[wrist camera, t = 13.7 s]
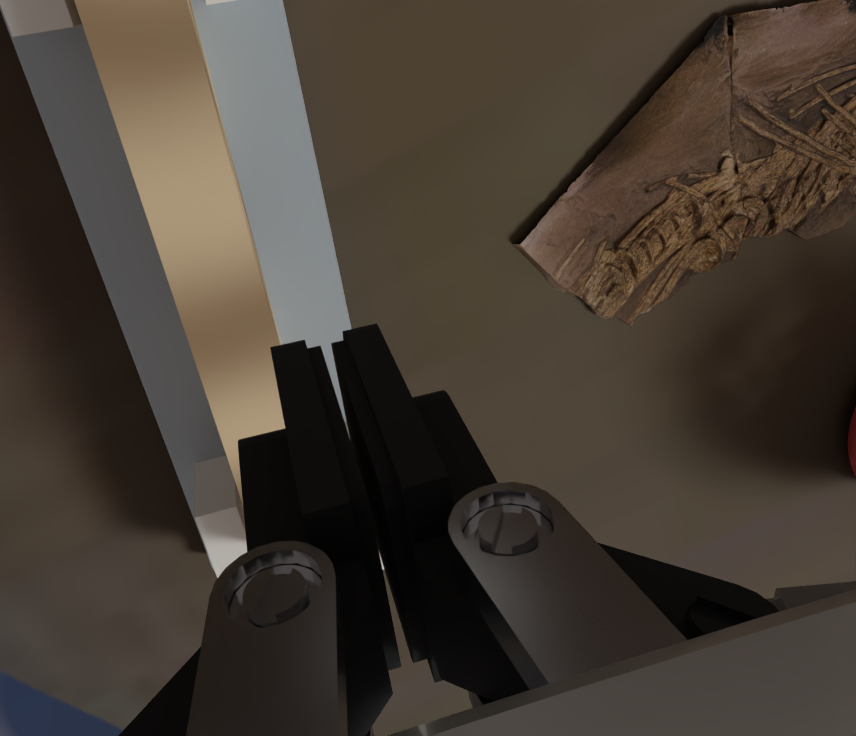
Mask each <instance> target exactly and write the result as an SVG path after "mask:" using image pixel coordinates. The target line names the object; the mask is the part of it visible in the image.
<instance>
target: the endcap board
mask: <svg viewBox="0 0 856 736" xmlns="http://www.w3.org/2000/svg"><path fill="white" fill-rule="evenodd" d="M190 1H191V5H192V8H193V12H194V16H195V20H196V23H197V27H198V31H199V35H200V38H201V42H202V46H203V50H204V54H205V57H206V61H207V65H208V69H209V72H210V76H211V80H212V84H213V87H214V91H215V95H216V99H217V103H218V106H219V110H220V114H221V118H222V121H223V125H224V129H225V133H226V137H227V140H228V144H229V148H230V152H231V155H232V159H233V163H234V167H235V170H236V174H237V178H238V182H239V186H240V189H241V193H242V197H243V201H244V204H245V208H246V212H247V216H248V219H249V223H250V227H251V231H252V235H253V238H254V242H255V246H256V250H257V253H258V257H259V261H260V265H261V268H262V272H263V276H264V280H265V284H266V287H267V291H268V295H269V299H270V302H271V306H272V310H273V314H274V318H275V321H276V325H277V329H278V333H279V336H280V340H281V344H287V343H291V342H296V341H300V340H305V342H306V346H307V348H311V347H316V346H321V348H322V352H323V355H324V358H325V361H326V364H327V368H328V371H329V374H330V377H331V380H332V384H333V387H334V390H335V393H336V396H337V400H338V403H339V406H340V409H341V412H342V416H343V419H344V422H345V425H346V428H347V431H348V426H347V421H346V416H345V411H344V406H343V401H342V396H341V391H340V387H339V382H338V377H337V372H336V367H335V362H334V357H333V352H332V346H331V343H334V342H338V341H342V340H343V331H346V330H350V329H351V325H350V320H349V315H348V310H347V306H346V301H345V296H344V291H343V287H342V282H341V277H340V272H339V267H338V263H337V258H336V253H335V248H334V244H333V239H332V234H331V229H330V224H329V220H328V215H327V210H326V205H325V201H324V196H323V191H322V186H321V181H320V177H319V172H318V167H317V162H316V158H315V153H314V148H313V143H312V139H311V134H310V129H309V124H308V119H307V115H306V110H305V105H304V100H303V96H302V91H301V86H300V81H299V76H298V72H297V67H296V62H295V57H294V53H293V48H292V43H291V38H290V33H289V29H288V24H287V19H286V14H285V10H284V5H283V0H190ZM0 10H1V13H2V16H3V18H4V21H5V24H6V26H7V29H8V31H9V34H10V37H11V39H12V42H13V45H14V47H15V50H16V52H17V55H18V58H19V60H20V63H21V66H22V68H23V71H24V73H25V76H26V79H27V81H28V84H29V87H30V89H31V92H32V95H33V97H34V100H35V102H36V105H37V108H38V110H39V113H40V116H41V118H42V121H43V123H44V126H45V129H46V131H47V134H48V137H49V139H50V142H51V145H52V147H53V150H54V152H55V155H56V158H57V160H58V163H59V166H60V168H61V171H62V173H63V176H64V179H65V181H66V184H67V187H68V189H69V192H70V195H71V197H72V200H73V202H74V205H75V208H76V210H77V213H78V216H79V218H80V221H81V223H82V226H83V229H84V231H85V234H86V237H87V239H88V242H89V245H90V247H91V250H92V252H93V255H94V258H95V260H96V263H97V266H98V268H99V271H100V273H101V276H102V279H103V281H104V284H105V287H106V289H107V292H108V295H109V297H110V300H111V302H112V305H113V308H114V310H115V313H116V316H117V318H118V321H119V323H120V326H121V329H122V331H123V334H124V337H125V339H126V342H127V345H128V347H129V350H130V352H131V355H132V358H133V360H134V363H135V366H136V368H137V371H138V373H139V376H140V379H141V381H142V384H143V387H144V389H145V392H146V395H147V397H148V400H149V402H150V405H151V408H152V410H153V413H154V416H155V418H156V421H157V423H158V426H159V429H160V431H161V434H162V437H163V439H164V442H165V445H166V447H167V450H168V452H169V455H170V458H171V460H172V463H173V466H174V468H175V471H176V473H177V476H178V479H179V481H180V484H181V487H182V489H183V492H184V495H185V497H186V500H187V502H188V505H189V508H190V510H191V513H192V516H193V518H194V521H195V523H196V526H197V529H198V531H199V534H200V537H201V539H202V542H203V545H204V547H205V550H206V552H207V555H208V558H209V560H210V563H211V566H212V568H213V570H215V573H216V575H217V578H218V577H219V576H220V575H221V573H222V572H223V571H224V569H225V568H226V567H227V566H228V565H230V564H231V563H232V562H233V561H235V560H236V559H237V558H238V557H239V556H241V555H243V554H245V553H247V544H246V533H245V521H244V510H243V503H242V501H241V498H240V495H239V492H238V489H237V486H236V483H235V480H234V477H233V474H232V471H231V468H230V465H229V462H228V459H227V456H226V453H225V450H224V447H223V444H222V441H221V438H220V435H219V432H218V429H217V426H216V423H215V420H214V417H213V414H212V411H211V408H210V405H209V402H208V399H207V396H206V393H205V390H204V387H203V384H202V381H201V378H200V375H199V372H198V369H197V366H196V363H195V360H194V357H193V354H192V351H191V348H190V345H189V342H188V339H187V336H186V333H185V330H184V327H183V324H182V321H181V318H180V315H179V312H178V309H177V306H176V303H175V300H174V297H173V294H172V291H171V288H170V285H169V282H168V279H167V276H166V273H165V270H164V267H163V264H162V261H161V258H160V255H159V252H158V249H157V246H156V243H155V240H154V237H153V234H152V231H151V228H150V226H149V223H148V220H147V217H146V214H145V211H144V208H143V205H142V202H141V199H140V196H139V193H138V190H137V187H136V184H135V181H134V178H133V175H132V172H131V169H130V166H129V163H128V160H127V157H126V154H125V151H124V148H123V145H122V142H121V139H120V136H119V133H118V130H117V127H116V124H115V121H114V118H113V115H112V112H111V109H110V106H109V103H108V100H107V97H106V94H105V91H104V88H103V85H102V82H101V79H100V76H99V73H98V70H97V67H96V64H95V61H94V58H93V55H92V52H91V49H90V46H89V43H88V40H87V37H86V34H85V31H84V28H83V25H82V22H81V19H80V16H79V13H78V10H77V7H76V4H75V1H74V0H0ZM348 435H349V431H348ZM349 438H350V436H349ZM379 555H380V553H379ZM380 560H381V565H382V570H384V566H383V563H382V559H381V556H380Z"/></svg>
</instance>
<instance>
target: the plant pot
mask: <svg viewBox="0 0 856 736" xmlns="http://www.w3.org/2000/svg"><path fill="white" fill-rule="evenodd" d="M848 453H849V460H850V464H851V468H852V470H853V472H854V474H855V476H856V407H855V410H854V412H853V415H852V419H851V423H850V427H849V433H848Z"/></svg>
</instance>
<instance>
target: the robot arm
mask: <svg viewBox="0 0 856 736" xmlns="http://www.w3.org/2000/svg"><path fill="white" fill-rule="evenodd" d="M331 346H332V352H333V357H334V362H335V367H336V372H337V377H338V382H339V387H340V391H341V396H342V401H343V406H344V411H345V416H346V421H347V426H348V431H349V435H348V431H347V428H346V425H345V422H344V419H343V416H342V412H341V409H340V406H339V403H338V400H337V396H336V393H335V390H334V387H333V384H332V380H331V377H330V374H329V371H328V368H327V364H326V361H325V358H324V355H323V352H322V348H321V346H316V347H311V348H307V346H306V342H305V340H300V341H296V342H291V343H287V344H282V345H278V346H273V347H270V349H271V355H272V360H273V365H274V371H275V376H276V381H277V387H278V392H279V397H280V403H281V408H282V413H283V419H284V424H285V429H281V430H276V431H272V432H268V433H264V434H260V435H256V436H252V437H247V438H243V439H239V440H238V454H239V465H240V476H241V487H242V499H243V510H244V521H245V533H246V544H247V553H245V554H243V555H241V556H239V557H238V558H237V559H236V560H235V561H233V562H232V563H231V564H230V565H228V566H227V567H226V568H225V569H224V571H223V572H222V573H221V575H220V576H219V577H218V579H217V580H216V581H215V583H214V586H213V589H212V592H211V594H210V598H209V603H208V609H207V615H206V621H205V627H204V633H203V639H202V644H201V647H200V648H199V649H198V650H197V652H196V653H195V654H194V655H193V656H192V657H191V658H190V659H189V660H188V661H187V662H186V663H185V665H184V666H183V667H182V668H181V669H180V670H179V671H178V672H177V673H176V674H175V675H174V676H173V678H172V679H171V680H170V681H169V682H168V683H167V684H166V685H165V686H164V687H163V688H162V689H161V690H160V692H159V693H158V694H157V695H156V696H155V697H154V698H153V699H152V700H151V701H150V702H149V703H148V705H147V706H146V707H145V708H144V709H143V710H142V711H141V712H140V713H139V714H138V715H137V716H136V718H135V719H134V720H133V721H132V722H131V723H130V724H129V725H128V726H127V727H126V728H125V729H124V730H123V732H122V733H121V734H120V735H119V736H374V732H373V728H372V725H373V724H374V722H375V720H376V719H377V717H378V716H379V714H380V713H381V711H382V710H383V708H384V707H385V705H386V703H387V702H388V700H389V699H390V697H391V696H392V694H393V692H392V687H391V682H390V678H389V673H388V671H389V670H392V669H395V668H398V667H401V663H400V657H399V652H398V647H397V642H396V637H395V632H394V627H393V621H392V616H391V611H390V606H389V601H388V596H387V591H386V586H385V580H384V575H383V570H382V565H381V560H380V556H381V559H382V563H383V566H384V569H385V573H386V576H387V579H388V583H389V586H390V589H391V592H392V596H393V599H394V602H395V606H396V609H397V612H398V616H399V619H400V622H401V625H402V629H403V632H404V635H405V639H406V642H407V645H408V648H409V652H410V655H411V658H412V661H413V663H415V662H418V661H421V660H425V659H427V660H428V663H429V666H430V669H431V672H432V675H433V679H434V682H439V681H442V680H445V681H447V682H449V683H452V684H454V685H456V686H459V687H461V688H463V689H466V690H468V693H469V698H470V701H471V704H472V707H473V708H472V709H469V710H466V711H463V712H460V713H457V714H453V715H450V716H447V717H444V718H441V719H438V720H435V721H432V722H428V723H425V724H422V725H419V726H416V727H413V728H410V729H407V730H404V731H400V732H397V733H394V734H391V735H388V736H856V581H851V582H840V583H829V584H818V585H807V586H796V587H785V588H776V591H775V596H774V598H769V599H765V598H763V597H762V596H761V595H759V594H758V593H756V592H754V591H751V590H749V589H746V588H744V587H742V586H739V585H737V584H734V583H730V582H727V581H724V580H720V579H717V578H714V577H710V576H707V575H704V574H700V573H697V572H694V571H690V570H687V569H684V568H680V567H677V566H674V565H670V564H667V563H664V562H660V561H657V560H654V559H650V558H647V557H644V556H640V555H637V554H634V553H630V552H627V551H624V550H620V549H617V548H614V547H610V546H607V545H604V544H600V543H597V542H596V541H595V540H594V539H593V537H592V536H591V535H590V534H589V533H588V532H587V531H586V530H585V529H584V528H583V527H582V526H581V525H580V523H579V522H578V521H577V520H576V519H575V518H574V517H573V516H572V515H571V514H570V513H569V512H568V511H567V509H566V508H565V507H564V506H563V505H562V504H561V503H560V502H559V501H558V500H557V499H556V498H554V497H553V496H552V495H550V494H549V493H548V492H547V491H544V490H542V489H540V488H537V487H535V486H532V485H528V484H522V483H516V482H508V483H497V481H496V479H495V477H494V475H493V474H492V472H491V470H490V468H489V467H488V465H487V463H486V461H485V459H484V458H483V456H482V454H481V452H480V450H479V449H478V447H477V445H476V443H475V441H474V440H473V438H472V436H471V434H470V433H469V431H468V429H467V427H466V425H465V424H464V422H463V420H462V418H461V416H460V415H459V413H458V411H457V409H456V407H455V406H454V404H453V402H452V400H451V399H450V397H449V395H448V394H447V392H446V391H444V390H442V391H438V392H434V393H430V394H425V395H421V396H417V397H413V398H412V396H411V394H410V392H409V390H408V388H407V386H406V384H405V381H404V379H403V377H402V375H401V373H400V371H399V369H398V367H397V365H396V363H395V360H394V358H393V356H392V354H391V352H390V350H389V348H388V346H387V344H386V342H385V339H384V337H383V335H382V333H381V331H380V329H379V327H378V325H377V324H373V325H368V326H364V327H359V328H355V329H350V330H346V331H343V340H342V341H338V342H334V343H331ZM349 436H350V438H349ZM379 553H380V555H379Z"/></svg>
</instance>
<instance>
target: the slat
mask: <svg viewBox="0 0 856 736" xmlns="http://www.w3.org/2000/svg"><path fill="white" fill-rule="evenodd" d="M74 1H75V4H76V7H77V10H78V13H79V16H80V19H81V22H82V25H83V28H84V31H85V34H86V37H87V40H88V43H89V46H90V49H91V52H92V55H93V58H94V61H95V64H96V67H97V70H98V73H99V76H100V79H101V82H102V85H103V88H104V91H105V94H106V97H107V100H108V103H109V106H110V109H111V112H112V115H113V118H114V121H115V124H116V127H117V130H118V133H119V136H120V139H121V142H122V145H123V148H124V151H125V154H126V157H127V160H128V163H129V166H130V169H131V172H132V175H133V178H134V181H135V184H136V187H137V190H138V193H139V196H140V199H141V202H142V205H143V208H144V211H145V214H146V217H147V220H148V223H149V226H150V228H151V231H152V234H153V237H154V240H155V243H156V246H157V249H158V252H159V255H160V258H161V261H162V264H163V267H164V270H165V273H166V276H167V279H168V282H169V285H170V288H171V291H172V294H173V297H174V300H175V303H176V306H177V309H178V312H179V315H180V318H181V321H182V324H183V327H184V330H185V333H186V336H187V339H188V342H189V345H190V348H191V351H192V354H193V357H194V360H195V363H196V366H197V369H198V372H199V375H200V378H201V381H202V384H203V387H204V390H205V393H206V396H207V399H208V402H209V405H210V408H211V411H212V414H213V417H214V420H215V423H216V426H217V429H218V432H219V435H220V438H221V441H222V444H223V447H224V450H225V453H226V456H227V459H228V462H229V465H230V468H231V471H232V474H233V477H234V480H235V483H236V486H237V489H238V492H239V495H240V498H241V501H242V503H243V499H242V487H241V476H240V465H239V454H238V440H239V439H243V438H247V437H252V436H256V435H260V434H264V433H268V432H272V431H276V430H281V429H285V424H284V419H283V413H282V408H281V403H280V397H279V392H278V387H277V381H276V376H275V371H274V365H273V360H272V355H271V349H270V347H273V346H278V345H282V344H281V340H280V336H279V333H278V329H277V325H276V321H275V318H274V314H273V310H272V306H271V302H270V299H269V295H268V291H267V287H266V284H265V280H264V276H263V272H262V268H261V265H260V261H259V257H258V253H257V250H256V246H255V242H254V238H253V235H252V231H251V227H250V223H249V219H248V216H247V212H246V208H245V204H244V201H243V197H242V193H241V189H240V186H239V182H238V178H237V174H236V170H235V167H234V163H233V159H232V155H231V152H230V148H229V144H228V140H227V137H226V133H225V129H224V125H223V121H222V118H221V114H220V110H219V106H218V103H217V99H216V95H215V91H214V87H213V84H212V80H211V76H210V72H209V69H208V65H207V61H206V57H205V54H204V50H203V46H202V42H201V38H200V35H199V31H198V27H197V23H196V20H195V16H194V12H193V8H192V5H191V1H190V0H74Z"/></svg>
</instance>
